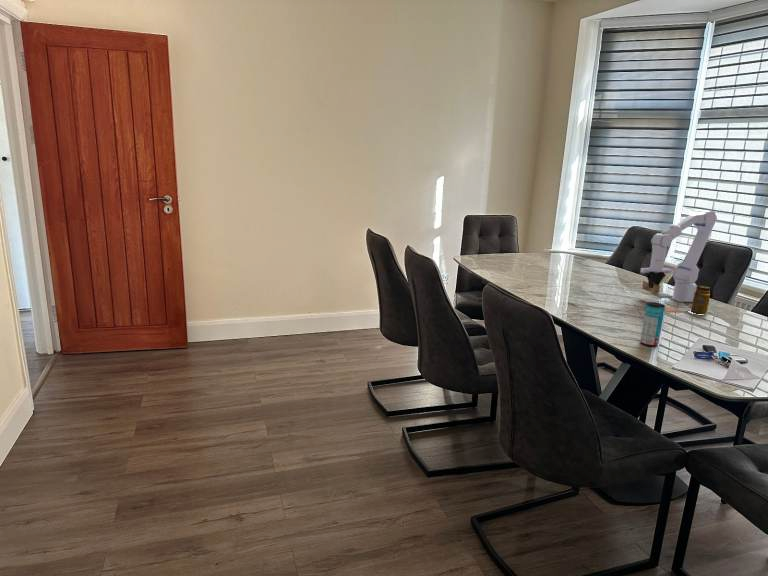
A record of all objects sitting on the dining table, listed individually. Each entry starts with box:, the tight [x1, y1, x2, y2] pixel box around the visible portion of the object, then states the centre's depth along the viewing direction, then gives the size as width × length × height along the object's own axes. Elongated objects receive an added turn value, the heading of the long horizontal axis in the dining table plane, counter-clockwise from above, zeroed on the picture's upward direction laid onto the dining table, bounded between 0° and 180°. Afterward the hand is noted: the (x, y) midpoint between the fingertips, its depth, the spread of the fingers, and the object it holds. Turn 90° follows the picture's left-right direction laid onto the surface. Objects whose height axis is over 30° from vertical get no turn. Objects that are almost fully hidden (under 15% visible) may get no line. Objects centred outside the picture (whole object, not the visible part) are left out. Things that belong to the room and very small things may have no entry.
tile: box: [664, 306, 683, 313], centre depth 239 cm, size 7×1×8 cm
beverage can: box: [639, 301, 666, 348], centre depth 188 cm, size 6×6×15 cm
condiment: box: [683, 285, 711, 316], centre depth 234 cm, size 7×8×12 cm
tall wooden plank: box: [641, 280, 673, 299], centre depth 248 cm, size 17×6×4 cm, turn 7°
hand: (653, 287), depth 250 cm, fingers closed on tall wooden plank, 2 cm apart
